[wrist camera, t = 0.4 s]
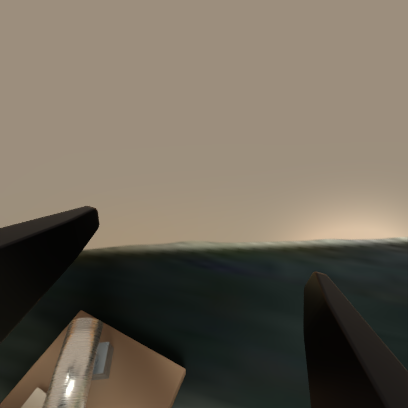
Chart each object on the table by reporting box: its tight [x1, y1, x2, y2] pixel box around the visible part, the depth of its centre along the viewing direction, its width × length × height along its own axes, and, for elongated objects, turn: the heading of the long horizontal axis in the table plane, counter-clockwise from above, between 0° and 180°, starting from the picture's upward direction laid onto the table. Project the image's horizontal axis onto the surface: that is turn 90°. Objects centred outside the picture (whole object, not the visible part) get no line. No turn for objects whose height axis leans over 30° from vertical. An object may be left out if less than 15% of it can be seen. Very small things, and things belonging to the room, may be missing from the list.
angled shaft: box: [42, 318, 114, 408], centre depth 16 cm, size 5×3×4 cm, turn 6°
